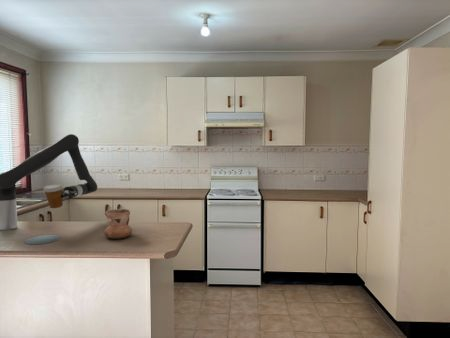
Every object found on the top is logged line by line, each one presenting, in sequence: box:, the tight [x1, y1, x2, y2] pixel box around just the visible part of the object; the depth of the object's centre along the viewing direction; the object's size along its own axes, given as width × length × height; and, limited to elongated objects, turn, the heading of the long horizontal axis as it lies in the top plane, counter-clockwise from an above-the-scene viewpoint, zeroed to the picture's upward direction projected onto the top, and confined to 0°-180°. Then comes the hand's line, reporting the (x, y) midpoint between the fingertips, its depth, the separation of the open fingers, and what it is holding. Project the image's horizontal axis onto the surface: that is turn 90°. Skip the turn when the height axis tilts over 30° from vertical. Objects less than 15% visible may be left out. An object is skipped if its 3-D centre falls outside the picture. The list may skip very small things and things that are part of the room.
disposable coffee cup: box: [43, 182, 63, 209], centre depth 180 cm, size 10×10×12 cm
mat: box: [24, 234, 61, 246], centre depth 169 cm, size 16×16×1 cm
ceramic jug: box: [103, 208, 133, 240], centre depth 174 cm, size 18×14×14 cm
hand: (54, 196), depth 180 cm, fingers closed on disposable coffee cup, 8 cm apart
